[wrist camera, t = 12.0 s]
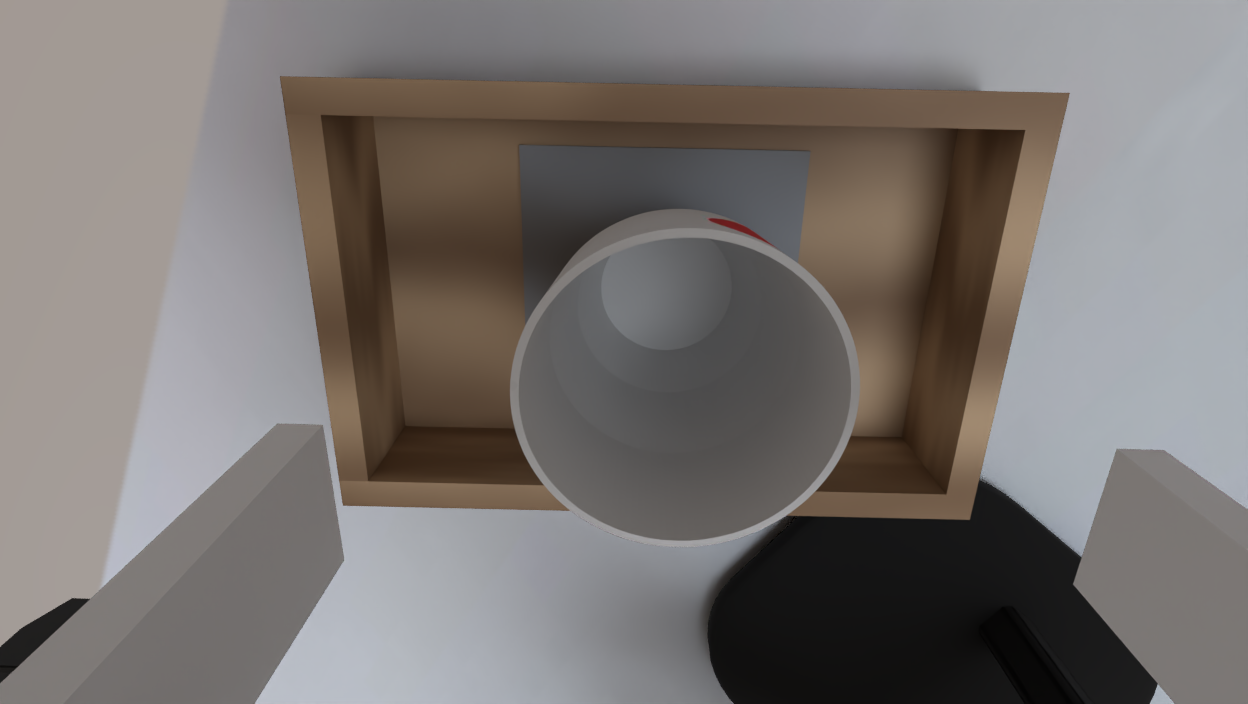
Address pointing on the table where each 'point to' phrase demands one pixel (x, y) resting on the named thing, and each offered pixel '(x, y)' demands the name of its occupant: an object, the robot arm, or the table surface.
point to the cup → (683, 381)
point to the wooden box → (638, 183)
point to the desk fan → (918, 616)
